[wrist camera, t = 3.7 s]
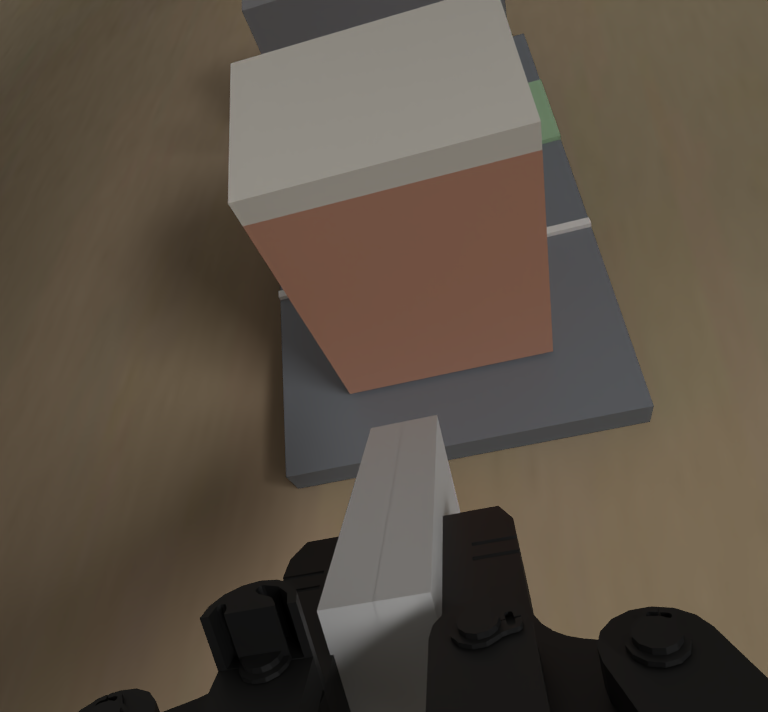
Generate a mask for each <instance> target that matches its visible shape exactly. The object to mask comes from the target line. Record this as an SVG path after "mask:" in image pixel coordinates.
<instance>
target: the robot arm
mask: <svg viewBox="0 0 768 712" xmlns="http://www.w3.org/2000/svg"><path fill="white" fill-rule="evenodd" d="M283 579H284V581H280V580H265V581H258V582H254V583H251V584H247V585H244V586H241V587H239V588H237V589H235V590H233V591H231V592H229V593H227V594H225V595H223V596H222V597H221V598H219V599H218V600H217V601H215V602H214V603H213V604H211V605H210V606H209V607H208V609H207V610H206V611H205V612H204V614H203V615H202V616H201V617H200V620H201V623H202V626H203V629H204V632H205V635H206V637H207V640H208V643H209V646H210V649H211V652H212V654H213V657H214V660H215V663H216V666H217V669H218V674H217V676H216V678H215V680H214V682H213V685H212V687H211V689H210V691H209V693H208V694H206V695H204V696H202V697H200V698H198V699H195V700H193V701H190V702H188V703H185V704H182V705H180V706H177V707H175V708H172V709H169V710H167V711H164V712H768V678H767V677H766V676H765V675H764V674H763V673H762V672H761V671H760V670H759V669H758V668H757V667H756V666H754V665H753V664H752V663H751V662H750V661H749V660H748V659H747V658H746V657H745V656H744V655H743V654H742V653H741V652H740V651H739V650H738V649H737V648H736V647H735V646H733V645H732V644H731V643H730V642H729V641H728V640H727V639H726V638H725V637H724V636H723V635H722V634H721V633H720V632H719V631H718V630H717V629H716V628H715V627H714V626H712V625H711V624H709V623H708V622H706V621H705V620H703V619H702V618H700V617H699V616H697V615H695V614H692V613H689V612H685V611H682V610H679V609H676V608H666V607H646V608H640V609H635V610H629V611H627V612H625V613H623V614H621V615H619V616H617V617H615V618H613V619H611V620H610V621H609V623H608V624H607V625H606V626H605V627H604V628H603V629H602V630H601V631H600V635H599V640H594V639H583V638H577V637H571V636H566V635H563V634H560V633H558V632H555V631H552V630H551V629H549V628H548V627H546V626H544V625H543V624H541V622H540V621H539V620H538V619H537V618H536V617H535V616H534V614H533V608H532V603H531V598H530V594H529V589H528V584H527V580H526V575H525V571H524V566H523V562H522V557H521V552H520V548H519V543H518V539H517V534H516V530H515V525H514V521H513V518H512V517H511V516H510V515H509V514H507V513H506V512H505V511H504V510H503V509H501V508H500V507H499V506H495V507H489V508H484V509H478V510H473V511H467V512H462V513H460V509H459V505H458V501H457V496H456V492H455V488H454V484H453V480H452V475H451V471H450V467H449V463H448V459H447V455H446V450H445V446H444V442H443V438H442V434H441V429H440V425H439V421H438V417H437V415H434V416H429V417H424V418H419V419H414V420H409V421H404V422H399V423H394V424H389V425H384V426H379V427H374V428H371V430H370V433H369V437H368V440H367V443H366V447H365V450H364V453H363V457H362V460H361V464H360V467H359V470H358V474H357V477H356V480H355V484H354V487H353V491H352V494H351V497H350V501H349V504H348V507H347V511H346V514H345V518H344V521H343V524H342V528H341V531H340V534H339V537H334V538H329V539H323V540H317V541H312V542H307V543H306V544H305V545H304V546H303V547H302V548H301V549H300V550H299V551H298V552H297V553H296V554H295V556H294V557H293V558H292V559H291V560H290V562H289V564H288V567H287V569H286V572H285V574H284V577H283ZM79 712H160V711H159V708H158V706H157V703H156V701H155V699H154V698H153V697H152V695H151V694H150V692H147V691H144V690H140V689H129V690H121V691H118V692H115V693H111V694H109V695H105V696H103V697H101V698H98V699H97V700H95V701H94V702H93V703H91V704H89V705H88V706H86V707H85V708H83V709H81V710H80V711H79Z"/></svg>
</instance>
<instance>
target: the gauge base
mask: <svg viewBox="0 0 768 712" xmlns="http://www.w3.org/2000/svg"><path fill="white" fill-rule="evenodd" d="M440 1H444V0H242V12H243V14H244V17H245V19H246V21H247V23H248V25H249V28H250V30H251V32H252V34H253V36H254V39H255V41H256V43H257V45H258V47H259V50H260V52H261V54H264V53H268V52H271V51H274V50H278V49H281V48H285V47H288V46H291V45H295V44H298V43H302V42H305V41H308V40H312V39H315V38H318V37H322V36H325V35H329V34H332V33H335V32H339V31H342V30H346V29H349V28H352V27H356V26H359V25H362V24H366V23H369V22H373V21H376V20H379V19H383V18H386V17H389V16H393V15H396V14H400V13H403V12H406V11H410V10H413V9H417V8H420V7H423V6H427V5H430V4H433V3H437V2H440ZM501 3H502V6H503V9H504V12H505V15H506V5H505V0H501ZM506 18H507V16H506ZM513 39H514V42H515V45H516V48H517V51H518V54H519V57H520V60H521V63H522V66H523V69H524V72H525V75H526V78H527V81H528V84H529V87H530V90H531V93H532V96H533V99H534V102H535V105H536V108H537V111H538V114H539V117H540V120H541V132H542V151H543V170H544V189H545V208H546V226H547V245H548V264H549V283H550V302H551V320H552V339H553V351H552V352H547V353H543V354H538V355H533V356H528V357H524V358H519V359H514V360H509V361H505V362H500V363H495V364H490V365H486V366H481V367H476V368H471V369H467V370H462V371H457V372H452V373H448V374H443V375H438V376H433V377H429V378H424V379H419V380H414V381H410V382H405V383H400V384H395V385H391V386H386V387H381V388H376V389H372V390H367V391H362V392H357V393H353V394H350V393H349V392H348V390H347V388H346V387H345V385H344V384H343V382H342V381H341V379H340V377H339V376H338V374H337V373H336V371H335V370H334V368H333V367H332V365H331V363H330V362H329V360H328V359H327V357H326V356H325V354H324V353H323V351H322V349H321V348H320V346H319V345H318V343H317V342H316V340H315V338H314V337H313V335H312V334H311V332H310V331H309V329H308V328H307V326H306V324H305V323H304V321H303V320H302V318H301V317H300V315H299V313H298V312H297V310H296V309H295V307H294V306H293V304H292V303H291V301H290V299H289V298H288V296H287V295H286V293H285V292H284V290H283V289H282V287H281V285H280V291H278V292H279V299H280V300H281V331H282V362H283V394H284V426H285V458H286V478H287V479H289V480H290V481H291V482H292V483H293V484H294V485H295V486H296V487H297V488H298V489H299V488H304V487H310V486H315V485H320V484H325V483H331V482H336V481H341V480H346V479H352V478H356V477H357V474H358V470H359V467H360V464H361V460H362V457H363V453H364V450H365V447H366V443H367V440H368V437H369V433H370V430H371V428H374V427H379V426H384V425H389V424H394V423H399V422H404V421H409V420H414V419H419V418H424V417H429V416H434V415H437V417H438V421H439V425H440V429H441V434H442V438H443V442H444V446H445V450H446V455H447V459H448V460H451V459H456V458H462V457H467V456H472V455H477V454H483V453H488V452H493V451H498V450H504V449H509V448H514V447H519V446H525V445H530V444H535V443H540V442H546V441H551V440H556V439H561V438H567V437H572V436H577V435H582V434H588V433H593V432H598V431H603V430H609V429H614V428H619V427H624V426H629V425H635V424H640V423H645V422H650V419H651V415H652V411H653V407H654V406H653V403H652V400H651V397H650V394H649V391H648V388H647V386H646V383H645V380H644V377H643V374H642V371H641V368H640V365H639V363H638V360H637V357H636V354H635V351H634V348H633V345H632V343H631V340H630V337H629V334H628V331H627V328H626V325H625V322H624V320H623V317H622V314H621V311H620V308H619V305H618V302H617V300H616V297H615V294H614V291H613V288H612V285H611V282H610V279H609V277H608V274H607V271H606V268H605V265H604V262H603V259H602V257H601V254H600V251H599V248H598V245H597V242H596V239H595V237H594V234H593V231H592V228H591V221H590V218H589V217H588V216H587V214H586V211H585V208H584V205H583V202H582V199H581V196H580V194H579V191H578V188H577V185H576V182H575V179H574V176H573V173H572V171H571V168H570V165H569V162H568V159H567V156H566V153H565V151H564V148H563V145H562V142H561V136H560V133H559V130H558V127H557V124H556V121H555V118H554V116H553V113H552V110H551V107H550V104H549V101H548V98H547V96H546V93H545V90H544V87H543V84H542V81H541V79H539V76H538V73H537V70H536V67H535V65H534V62H533V59H532V56H531V53H530V50H529V47H528V44H527V42H526V39H525V36H524V34H520V35H517V36H513Z"/></svg>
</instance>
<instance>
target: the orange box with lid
mask: <svg viewBox="0 0 768 712" xmlns="http://www.w3.org/2000/svg"><path fill="white" fill-rule="evenodd" d="M228 204H229V206H230V207H231V209H232V211H233V212H234V214H235V215H236V217H237V218H238V220H239V221H240V223H241V225H242V226H243V228H244V229H245V231H246V232H247V234H248V235H249V237H250V239H251V240H252V242H253V243H254V245H255V246H256V248H257V250H258V251H259V253H260V254H261V256H262V257H263V259H264V260H265V262H266V264H267V265H268V267H269V268H270V270H271V271H272V273H273V274H274V276H275V278H276V279H277V281H278V282H279V284H280V285H281V287H282V289H283V290H284V292H285V293H286V295H287V296H288V298H289V299H290V301H291V303H292V304H293V306H294V307H295V309H296V310H297V312H298V313H299V315H300V317H301V318H302V320H303V321H304V323H305V324H306V326H307V328H308V329H309V331H310V332H311V334H312V335H313V337H314V338H315V340H316V342H317V343H318V345H319V346H320V348H321V349H322V351H323V353H324V354H325V356H326V357H327V359H328V360H329V362H330V363H331V365H332V367H333V368H334V370H335V371H336V373H337V374H338V376H339V377H340V379H341V381H342V382H343V384H344V385H345V387H346V388H347V390H348V392H349V393H350V394H353V393H357V392H362V391H367V390H372V389H376V388H381V387H386V386H391V385H395V384H400V383H405V382H410V381H414V380H419V379H424V378H429V377H433V376H438V375H443V374H448V373H452V372H457V371H462V370H467V369H471V368H476V367H481V366H486V365H490V364H495V363H500V362H505V361H509V360H514V359H519V358H524V357H528V356H533V355H538V354H543V353H547V352H552V351H553V339H552V320H551V302H550V283H549V264H548V245H547V226H546V208H545V189H544V170H543V151H542V132H541V120H540V117H539V114H538V111H537V108H536V105H535V102H534V99H533V96H532V93H531V90H530V87H529V84H528V81H527V78H526V75H525V72H524V69H523V66H522V63H521V60H520V57H519V54H518V51H517V48H516V45H515V42H514V39H513V36H512V33H511V30H510V27H509V24H508V21H507V18H506V15H505V12H504V9H503V6H502V3H501V0H444V1H440V2H437V3H433V4H430V5H427V6H423V7H420V8H417V9H413V10H410V11H406V12H403V13H400V14H396V15H393V16H389V17H386V18H383V19H379V20H376V21H373V22H369V23H366V24H362V25H359V26H356V27H352V28H349V29H346V30H342V31H339V32H335V33H332V34H329V35H325V36H322V37H318V38H315V39H312V40H308V41H305V42H302V43H298V44H295V45H291V46H288V47H285V48H281V49H278V50H274V51H271V52H268V53H264V54H261V55H258V56H254V57H251V58H247V59H244V60H241V61H237V62H234V63H231V77H230V127H229V176H228Z"/></svg>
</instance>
